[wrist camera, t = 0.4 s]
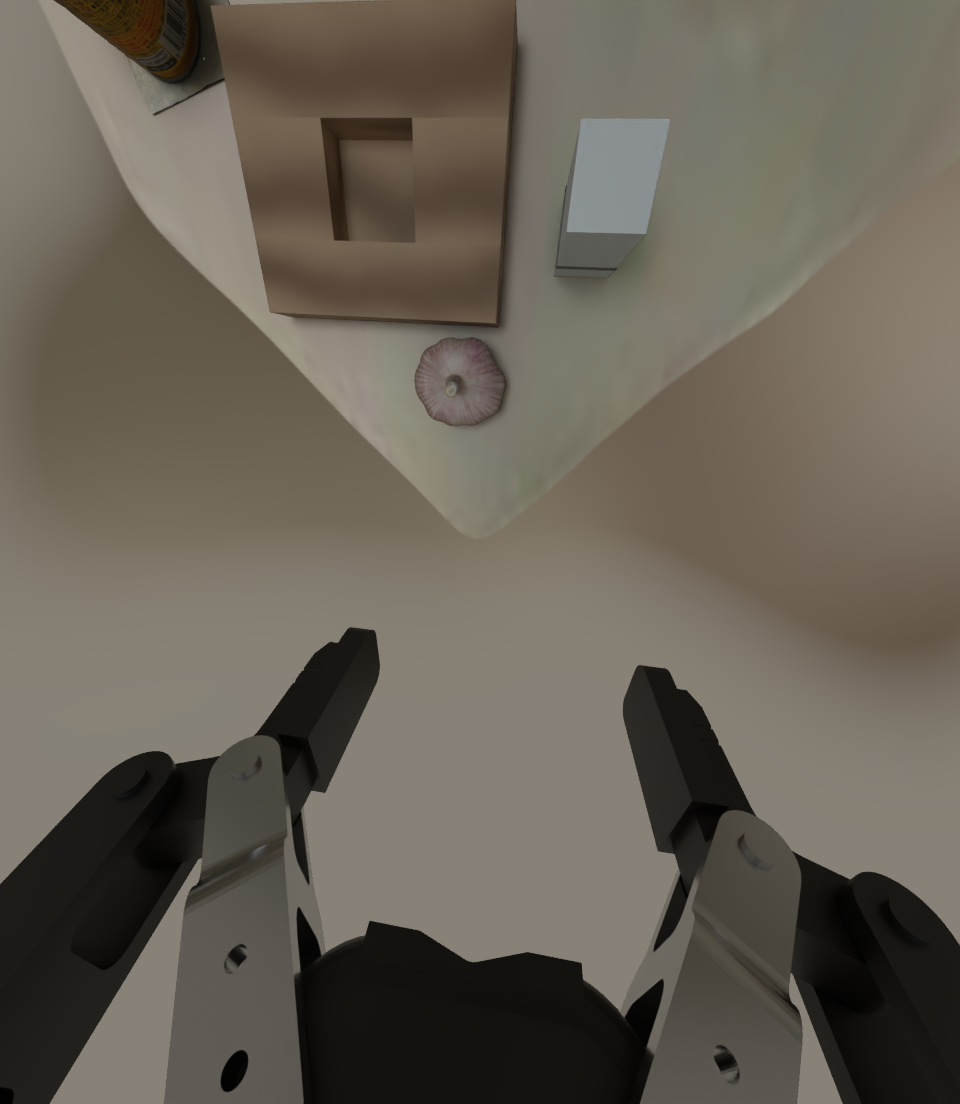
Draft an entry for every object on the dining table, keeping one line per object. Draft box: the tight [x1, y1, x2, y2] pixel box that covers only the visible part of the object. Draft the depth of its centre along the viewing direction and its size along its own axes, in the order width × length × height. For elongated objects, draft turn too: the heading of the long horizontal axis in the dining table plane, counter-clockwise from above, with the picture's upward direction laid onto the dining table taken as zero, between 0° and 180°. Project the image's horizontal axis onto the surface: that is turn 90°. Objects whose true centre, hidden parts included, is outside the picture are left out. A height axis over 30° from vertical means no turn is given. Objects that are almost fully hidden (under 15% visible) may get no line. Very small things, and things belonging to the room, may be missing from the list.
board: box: [211, 0, 517, 327], centre depth 25 cm, size 15×18×3 cm
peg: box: [554, 119, 670, 278], centre depth 21 cm, size 4×4×10 cm
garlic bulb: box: [415, 337, 506, 426], centre depth 28 cm, size 8×7×8 cm
